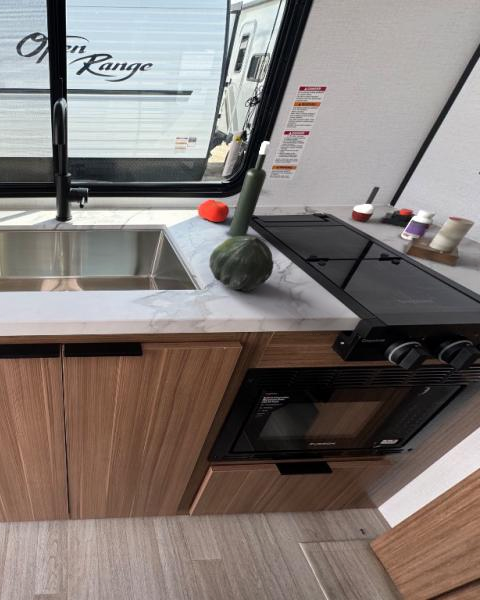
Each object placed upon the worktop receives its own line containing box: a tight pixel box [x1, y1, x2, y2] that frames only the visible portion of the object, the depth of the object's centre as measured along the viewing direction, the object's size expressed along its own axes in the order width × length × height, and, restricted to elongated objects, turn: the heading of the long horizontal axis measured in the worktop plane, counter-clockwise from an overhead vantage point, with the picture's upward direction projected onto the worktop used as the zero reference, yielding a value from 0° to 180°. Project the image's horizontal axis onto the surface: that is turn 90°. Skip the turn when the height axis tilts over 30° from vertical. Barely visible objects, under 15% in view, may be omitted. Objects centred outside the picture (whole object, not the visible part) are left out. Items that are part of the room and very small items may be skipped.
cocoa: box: [351, 186, 380, 223], centre depth 124 cm, size 10×6×12 cm, turn 112°
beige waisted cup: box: [430, 216, 475, 252], centre depth 98 cm, size 6×6×9 cm
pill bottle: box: [401, 209, 437, 241], centre depth 111 cm, size 5×5×10 cm
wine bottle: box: [227, 140, 271, 237], centre depth 105 cm, size 6×6×30 cm
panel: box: [405, 237, 464, 267], centre depth 102 cm, size 12×10×3 cm
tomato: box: [197, 199, 230, 223], centre depth 124 cm, size 10×11×6 cm
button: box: [399, 208, 414, 216], centre depth 123 cm, size 4×4×2 cm
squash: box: [208, 235, 274, 292], centre depth 84 cm, size 14×15×15 cm
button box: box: [381, 210, 417, 229], centre depth 124 cm, size 10×8×4 cm
